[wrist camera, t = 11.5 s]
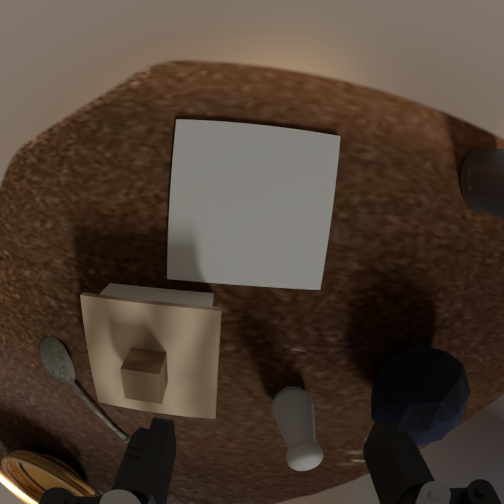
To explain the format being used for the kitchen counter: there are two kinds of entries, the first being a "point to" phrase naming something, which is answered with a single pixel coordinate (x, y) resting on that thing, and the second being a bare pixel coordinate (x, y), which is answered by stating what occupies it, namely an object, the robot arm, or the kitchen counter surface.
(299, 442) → the salt shaker
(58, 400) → the kitchen counter surface
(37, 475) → the ceramic bowl
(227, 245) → the tray
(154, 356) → the lid
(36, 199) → the kitchen counter surface
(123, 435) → the soupspoon
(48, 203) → the kitchen counter surface
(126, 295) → the white open box
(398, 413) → the decorative orb
